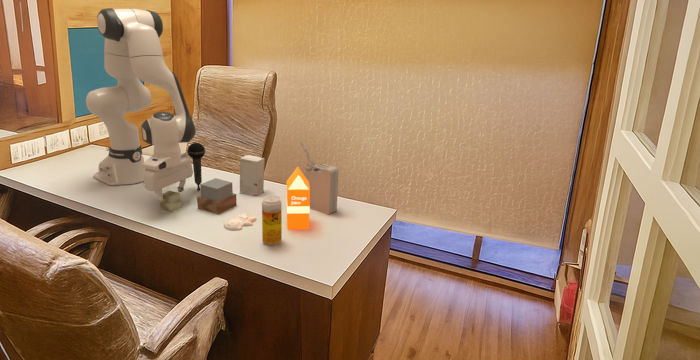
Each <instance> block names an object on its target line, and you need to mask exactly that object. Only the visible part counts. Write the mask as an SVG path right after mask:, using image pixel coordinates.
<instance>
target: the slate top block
mask: <svg viewBox="0 0 700 360" xmlns="http://www.w3.org/2000/svg"><path fill="white" fill-rule="evenodd" d="M199 187H200V195H201V197H202V198H206V199H210V200H213V201H217V202H219V201H221V200H223V199H225V198H227V197H229V196H232V195H233V191H234V190H233V181H229V180H224V179H220V178H216V177H215V178H213V179H210V180H208V181H205V182H202V183H200V185H199Z"/></svg>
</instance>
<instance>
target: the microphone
mask: <svg viewBox="0 0 700 360" xmlns="http://www.w3.org/2000/svg"><path fill="white" fill-rule="evenodd" d="M186 154H188V155H189V156H190V159H191V160H192V169H193V179H194V184H196V185H197V188H196V190H197V191H198V192H199V191H200V192H201V189H200V184H202V183H203V182H202V181H203V178H202V158H203V157H204V156H205V154H206V149H205V147H204V145H203V144H202V143H199V142H193V143H190V145H189V146H188V147H187V150H186Z"/></svg>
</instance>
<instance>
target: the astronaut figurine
mask: <svg viewBox="0 0 700 360" xmlns="http://www.w3.org/2000/svg"><path fill="white" fill-rule="evenodd" d="M256 220H257V217H256V216H250V215H249V214H248V213H245V212H241V213H240V214H238V216H233V218H229V219H227V220H225V221H224V222H223V228H224V229H225V230H227V231H232V232H233V231H242V230H243V227H253V225H254V224H253V223H254V222H256Z"/></svg>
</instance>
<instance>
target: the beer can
mask: <svg viewBox="0 0 700 360" xmlns="http://www.w3.org/2000/svg"><path fill="white" fill-rule="evenodd" d="M282 210H283V209H282V200H281V198H280V197H279V196H275V195H269V196H264V198H263V199H262V201H261V227H262V229H261V230H262V231H261V232H262V235H261V236H262V237H261V238H262V242H263V244H265V245H267V246H272V247H273V246H276V245H279V244H280V243H281V242H282V239H283V238H282V233H283V232H282V223H283V221H282V218H283V217H282Z"/></svg>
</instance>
